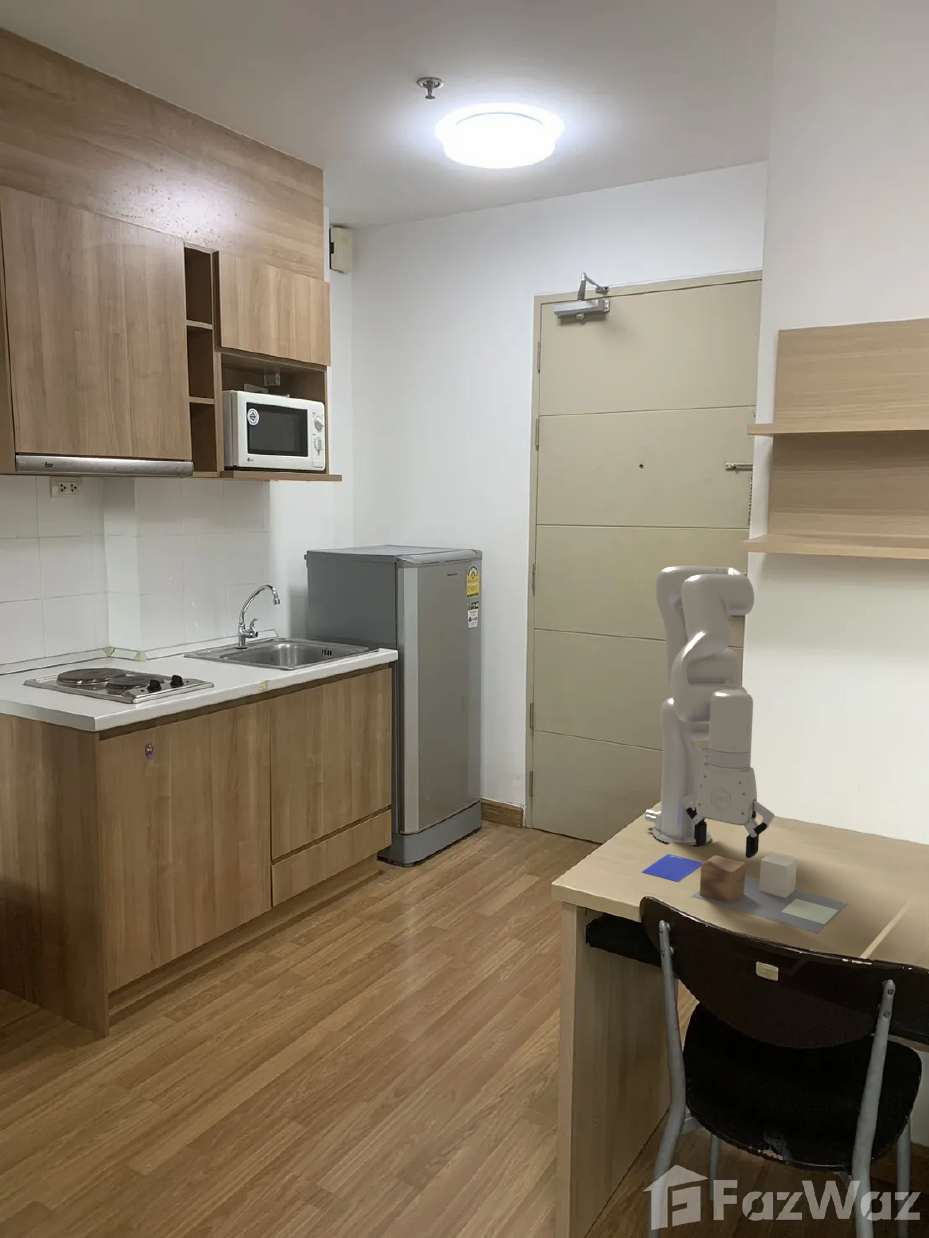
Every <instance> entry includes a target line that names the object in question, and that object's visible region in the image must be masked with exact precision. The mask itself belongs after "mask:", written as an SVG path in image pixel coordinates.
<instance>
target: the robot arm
mask: <svg viewBox="0 0 929 1238" xmlns="http://www.w3.org/2000/svg"><path fill="white" fill-rule="evenodd" d="M754 591H755V590H754V588H753V585H752V582H751V580H750V579H749V578H748V576H747V575H746V574H745V573H743V572H741V571H740V570H738V569H736V568H735V567H731V566H716V565H715V566H712V565H711V566H707V565H706V566H703V565H675V566H669V567H665V568H662V570H660V571H659V572H658V574H657V576H656V580H655V597H656V602H657V606H658V609H659V612H660V615H661V618H662V621H663V624H664V629H665V630H664V631H665V633H664V634H665V637H664V638H665V670H666V671H665V672H666V680H667V682H668V684H669V685H670V688H671V689H670V690H671V697H669V698H667V699H665V700H664V701H663V703H662V704H661V707H660V712H659V716H660V726H661V727H660V728H661V737H662V760H661V761H662V765H661V766H662V767H661V784H660V785H661V789H660V790H661V791H660V811H655V810H652V809H647V810H646V811H645V813H644V815H645V818H644V820H645V821H647V822H652V823H653V824H655V825H654V826H653V828H652V832H651V833H653V834H652V836H653V835H654V836H655V837H656V838H655V837H654V836H653V837H654V838H655V839H657V840H658V839H659V840H658V841H660V840H661V841H660V842H663V841H664V842H663V843H666V842H667V844H672V843H677V844H680V845H681V844H682V845H684V846H685V845H686V846H689V847H693V845H696V847H700V846H702V845H705V844H707V843H709V842H710V841H711V837H712V836H711V832H710V831H709V830H708V823H707V821H705V820H706V819H707V820H712V821H715V822H716V821H717V822H719V823H720V822H721V823H725V824H730V825H734V826H743V827H744V828H745V829H746V832H748V835H746V839H745V840H746V841H745V857H746V859H752V857H754V856H755V855H756V854H758V852H759V843H760V839H759V838H760V835H761V834H762V833H763V832H765V831H766V830H768V829H769V828H770V825H771V824H772V823H773V820H774V819H775V817H776V816H775V813H773V812H772V811H771V810H769V809H768V808H766V807H765V806H764V805H763V804H761V803H760V802H758V792H757V782H756V781H757V780H756V775H755V769H754V767H751V762H752V761H751V760H752V736H753V715H754V713H753V712H754V700H753V696H752V695H750V693H748V691H747V690H746V688H745V687H743V686H742V668H741V663H740V662H741V661H740V658H739V656H738V654H737V653H736V652H735V651H734V650H733V649H731V648H728V647H729V646H730V645H731V644H732V637H733V636H732V632H731V628H730V627H731V626H730V621H729V616H746V615H748V614H749V613H750V612H752V610H753V607H754V605H755V604H754V603H755V592H754ZM697 741H708V746H706V748H704V747H702V749H700V747H699V746H698V745H697ZM757 814H758V815H760V816H761V817H762V821H761V822H760V824H759V823H758V822H757V820H756V818H757Z"/></svg>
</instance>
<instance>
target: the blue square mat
mask: <svg viewBox="0 0 929 1238" xmlns="http://www.w3.org/2000/svg"><path fill="white" fill-rule="evenodd" d="M702 863H703V861H699V860H695V859H691V858H687V857H682V856H680V855H679V856H678V855H674V854H670V853H666V854H665V855H664V856H663V857H661V858H660V859H658V860H657V861H655V862H654V863H652V864H650V865H649V866H647V867H646V868H645V869H644V870H642V871H641V873H642V874H646V875H650V876H652V877H653V876H654V877H658V878H661V879H664V880H669V881H673V882H675V883H680V882H681V881H682V880H683V879H685V878H686V877H688V876H689V875H691V874H692V873H694V872H695V871H697V870H698V869H699V868H701V864H702Z"/></svg>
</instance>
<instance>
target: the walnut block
mask: <svg viewBox="0 0 929 1238" xmlns="http://www.w3.org/2000/svg"><path fill="white" fill-rule="evenodd" d="M746 866H747V865H746V862H742V861H739V860H735V859H731V858H727V857H723V856H720V855H715V854H714V855H713V856H712V857H709V858H708V859H707V860H705V861H704V862H702V864H701V866H700V883H699V885H700V886H699V890H700V895H701V896H704V897H708V898H711V899H715V900H718V901H722V902H725V903H728V904H732V903H733V902H734V901H736V900H737V899H738V898H739V897H741V896H742V895H743V894H744V884H745V876H746Z"/></svg>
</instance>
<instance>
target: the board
mask: <svg viewBox="0 0 929 1238" xmlns="http://www.w3.org/2000/svg"><path fill="white" fill-rule="evenodd" d="M759 883H760V879H756V878H752V877H748V876H746V875H745V884H744V894H743V895H742V896H741V897H739V898H738V899H737V900H736V901H734V902H733V903H732V904H728V903H725V902H722V901H718V900H715V899H711V898H708V897H704V896H701V895H700V889H699V890H697V892H695V893H694V894H692V895H691V898H695V899H699V900H702V901H706V902H708V903H713V904H716V905H719V906H723V907H726V908H730V909H733V910H736V911H740V912H743V913H746V914H750V915H753V916H757V917H760V918H763V919H767V920H771V921H773V922H777V923H780V924H784V925H788V926H790V927H792V928H793V927H794V928H797V929H800V930H804V931H807V932H811V933H814V934H818V933H819V932H820V931H821V930H822V929H824V927H825V926H827V924H829V922H831V921H832V920H833V919H834V917H835V916H837V915H838V913H840V912H841V911H842V910H843V909H844V908H845V906H847V905H848V903H845V902H842V901H838V900H834V899H831V898H828V897H822V896H820V895H816V894H812V893H808V892H804V891H801V890H797V889H795V890H794V891H793V892H792V893H791V894H790V895H788V896H787V897H786V898H784V897H780V896H777V895H773V894H769V893H766V892H762V891H759Z"/></svg>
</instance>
